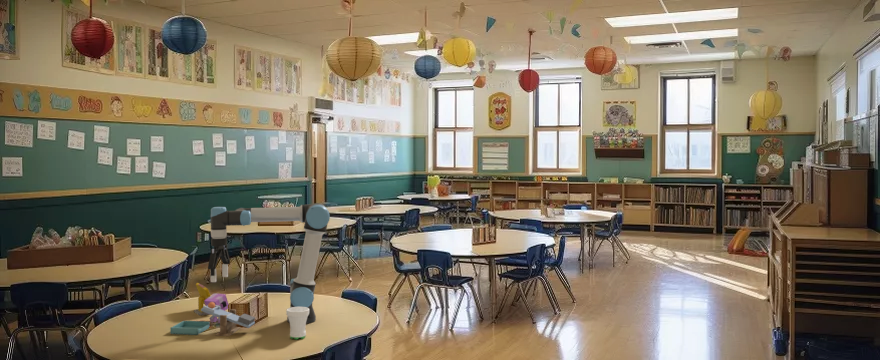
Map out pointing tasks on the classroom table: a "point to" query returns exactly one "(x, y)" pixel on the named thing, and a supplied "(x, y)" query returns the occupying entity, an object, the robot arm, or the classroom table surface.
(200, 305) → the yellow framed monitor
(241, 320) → the lever
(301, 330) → the cup
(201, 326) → the tray
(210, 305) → the ball
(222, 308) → the toy
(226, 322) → the fulcrum
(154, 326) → the classroom table surface
